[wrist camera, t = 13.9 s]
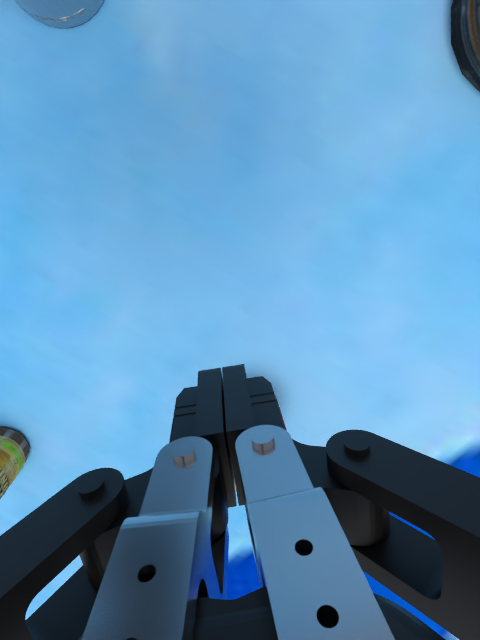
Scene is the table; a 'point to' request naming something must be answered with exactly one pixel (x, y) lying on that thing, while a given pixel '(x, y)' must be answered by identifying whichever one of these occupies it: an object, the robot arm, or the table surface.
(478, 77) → the dark grey bell-shaped piece
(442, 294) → the table surface
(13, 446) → the sauce bottle
